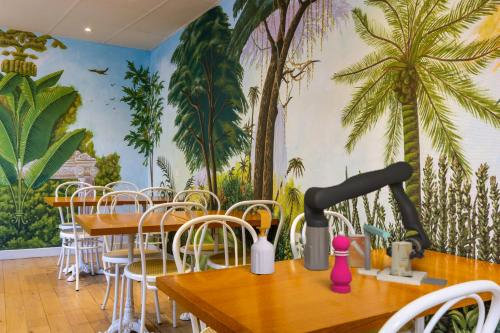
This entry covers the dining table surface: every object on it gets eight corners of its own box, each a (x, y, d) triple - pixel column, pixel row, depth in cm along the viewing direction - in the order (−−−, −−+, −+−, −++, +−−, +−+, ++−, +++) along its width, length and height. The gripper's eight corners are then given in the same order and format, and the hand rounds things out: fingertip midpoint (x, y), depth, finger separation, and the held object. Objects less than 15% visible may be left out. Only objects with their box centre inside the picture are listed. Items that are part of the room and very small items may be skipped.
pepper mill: (354, 289, 145) (354, 230, 145) (349, 295, 138) (349, 233, 138) (333, 286, 148) (333, 229, 148) (327, 292, 141) (327, 231, 141)
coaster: (423, 283, 152) (423, 281, 152) (426, 278, 158) (426, 277, 158) (444, 285, 149) (444, 284, 149) (447, 281, 155) (447, 279, 155)
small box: (349, 267, 176) (349, 236, 176) (347, 264, 183) (347, 233, 183) (369, 267, 176) (369, 236, 176) (366, 264, 182) (366, 233, 182)
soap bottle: (267, 268, 174) (267, 208, 174) (278, 273, 166) (278, 210, 166) (247, 271, 170) (247, 209, 170) (257, 276, 162) (257, 211, 162)
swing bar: (362, 229, 168) (362, 224, 168) (370, 229, 168) (370, 224, 168) (381, 237, 147) (381, 232, 147) (390, 237, 148) (390, 232, 148)
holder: (353, 276, 162) (353, 232, 162) (365, 268, 174) (365, 227, 174) (419, 285, 149) (419, 237, 149) (427, 276, 162) (427, 232, 162)
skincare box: (399, 277, 156) (400, 243, 156) (390, 274, 160) (391, 242, 160) (412, 275, 159) (412, 242, 159) (403, 272, 163) (403, 240, 163)
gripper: (391, 237, 175) (380, 243, 161) (428, 241, 168) (421, 247, 154) (391, 255, 175) (380, 263, 161) (428, 260, 168) (420, 268, 154)
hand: (400, 255), depth 158 cm, fingers closed on skincare box, 6 cm apart
